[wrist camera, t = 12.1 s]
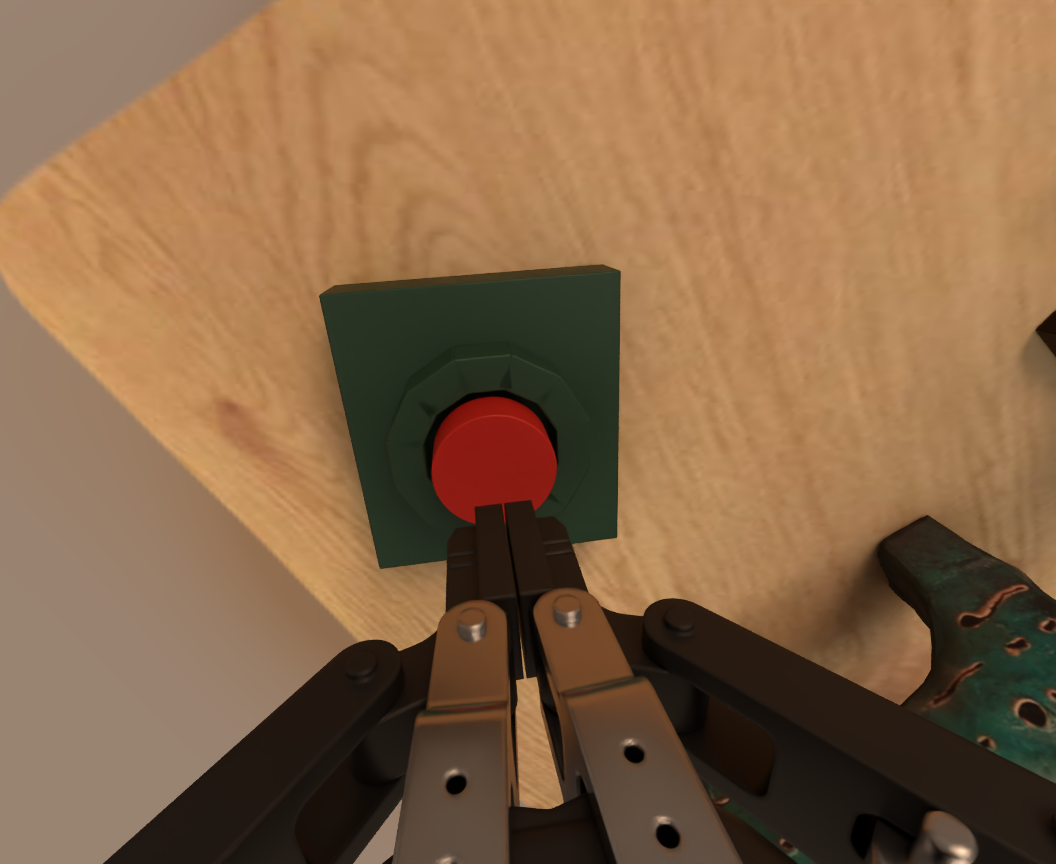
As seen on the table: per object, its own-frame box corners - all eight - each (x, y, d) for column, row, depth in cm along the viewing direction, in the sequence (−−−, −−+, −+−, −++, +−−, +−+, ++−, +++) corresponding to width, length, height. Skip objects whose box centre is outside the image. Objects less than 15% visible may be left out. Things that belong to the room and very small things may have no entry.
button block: (333, 285, 18) (302, 304, 15) (603, 264, 19) (638, 276, 16) (386, 538, 23) (373, 600, 19) (603, 510, 24) (631, 565, 20)
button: (425, 402, 17) (422, 422, 15) (545, 390, 17) (554, 408, 16) (441, 505, 18) (440, 533, 17) (550, 492, 19) (559, 518, 17)
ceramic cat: (953, 481, 26) (2135, 1126, 8) (975, 563, 28) (1897, 1189, 10) (616, 670, 28) (915, 1516, 10) (666, 730, 31) (975, 1488, 12)
